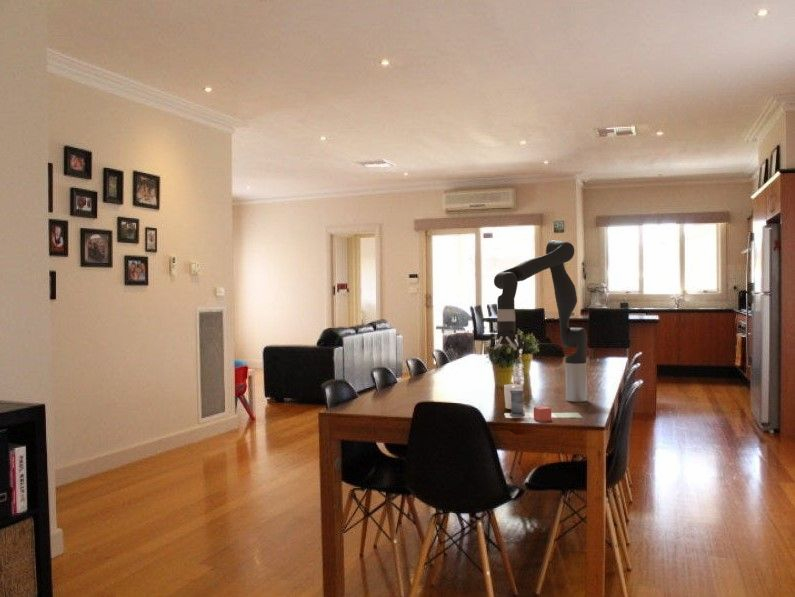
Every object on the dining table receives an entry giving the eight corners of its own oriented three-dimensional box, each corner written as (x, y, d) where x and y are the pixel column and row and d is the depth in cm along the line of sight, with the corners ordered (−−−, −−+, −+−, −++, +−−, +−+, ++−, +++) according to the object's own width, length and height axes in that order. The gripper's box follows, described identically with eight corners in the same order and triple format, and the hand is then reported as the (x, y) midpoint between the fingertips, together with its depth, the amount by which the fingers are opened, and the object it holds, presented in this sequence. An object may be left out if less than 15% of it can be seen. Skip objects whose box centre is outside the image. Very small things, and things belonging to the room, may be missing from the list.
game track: (503, 414, 279) (503, 413, 279) (578, 413, 277) (578, 412, 277) (505, 418, 269) (505, 417, 269) (582, 418, 267) (582, 417, 267)
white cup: (509, 410, 287) (508, 387, 287) (501, 407, 294) (500, 384, 294) (526, 409, 289) (525, 386, 289) (517, 406, 297) (517, 383, 297)
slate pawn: (509, 414, 277) (508, 389, 277) (524, 413, 277) (523, 389, 276) (510, 416, 271) (509, 391, 271) (525, 416, 271) (525, 391, 271)
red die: (533, 419, 266) (533, 405, 266) (545, 418, 267) (545, 405, 267) (539, 422, 261) (539, 407, 261) (551, 421, 262) (551, 407, 262)
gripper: (486, 320, 284) (487, 358, 284) (517, 320, 275) (518, 360, 275) (495, 319, 290) (495, 357, 290) (525, 319, 281) (526, 358, 281)
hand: (506, 358), depth 282 cm, fingers open, 8 cm apart
